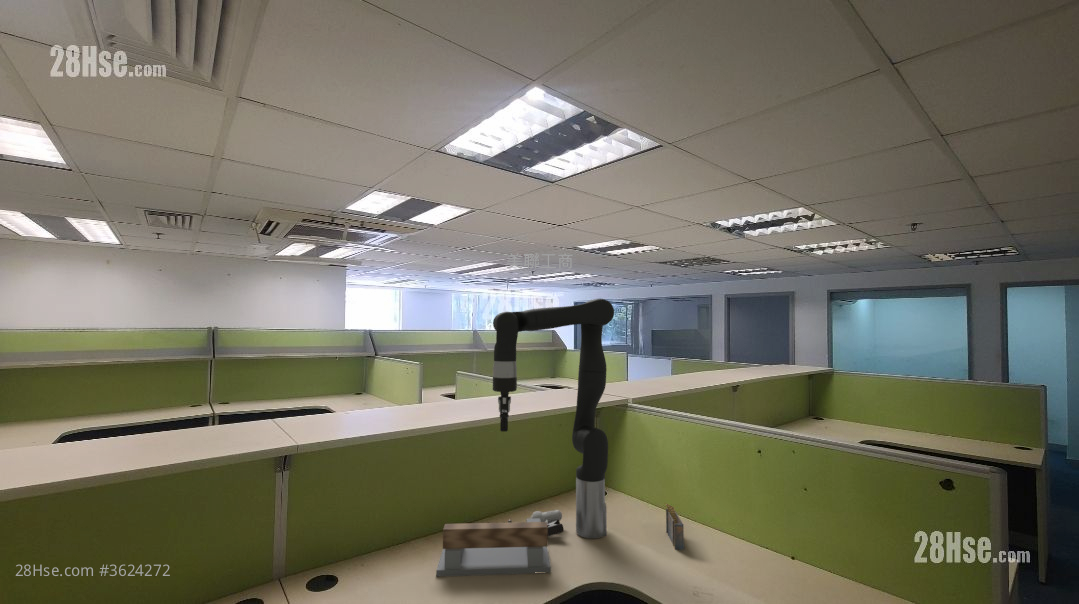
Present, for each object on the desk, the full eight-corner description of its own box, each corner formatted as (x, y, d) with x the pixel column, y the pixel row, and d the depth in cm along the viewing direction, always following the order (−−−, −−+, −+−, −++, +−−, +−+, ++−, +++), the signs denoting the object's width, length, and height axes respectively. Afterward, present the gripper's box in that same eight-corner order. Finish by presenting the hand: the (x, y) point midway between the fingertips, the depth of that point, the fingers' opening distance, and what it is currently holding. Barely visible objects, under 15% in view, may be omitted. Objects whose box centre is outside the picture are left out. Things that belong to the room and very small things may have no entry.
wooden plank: (546, 540, 122) (546, 521, 122) (547, 546, 118) (547, 527, 118) (444, 542, 120) (445, 523, 120) (442, 548, 116) (443, 529, 117)
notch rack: (546, 549, 129) (546, 517, 130) (550, 572, 116) (550, 537, 117) (443, 551, 127) (444, 519, 128) (436, 576, 114) (437, 540, 115)
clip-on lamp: (508, 549, 135) (565, 537, 134) (503, 529, 135) (560, 517, 134) (511, 528, 147) (564, 517, 146) (507, 510, 146) (559, 499, 146)
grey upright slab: (664, 533, 141) (664, 502, 141) (674, 533, 140) (674, 502, 141) (673, 550, 129) (672, 516, 130) (683, 551, 129) (683, 517, 130)
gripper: (517, 377, 130) (516, 433, 129) (516, 373, 144) (515, 423, 143) (491, 377, 129) (491, 433, 128) (493, 373, 143) (492, 423, 142)
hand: (504, 428), depth 135 cm, fingers open, 8 cm apart
